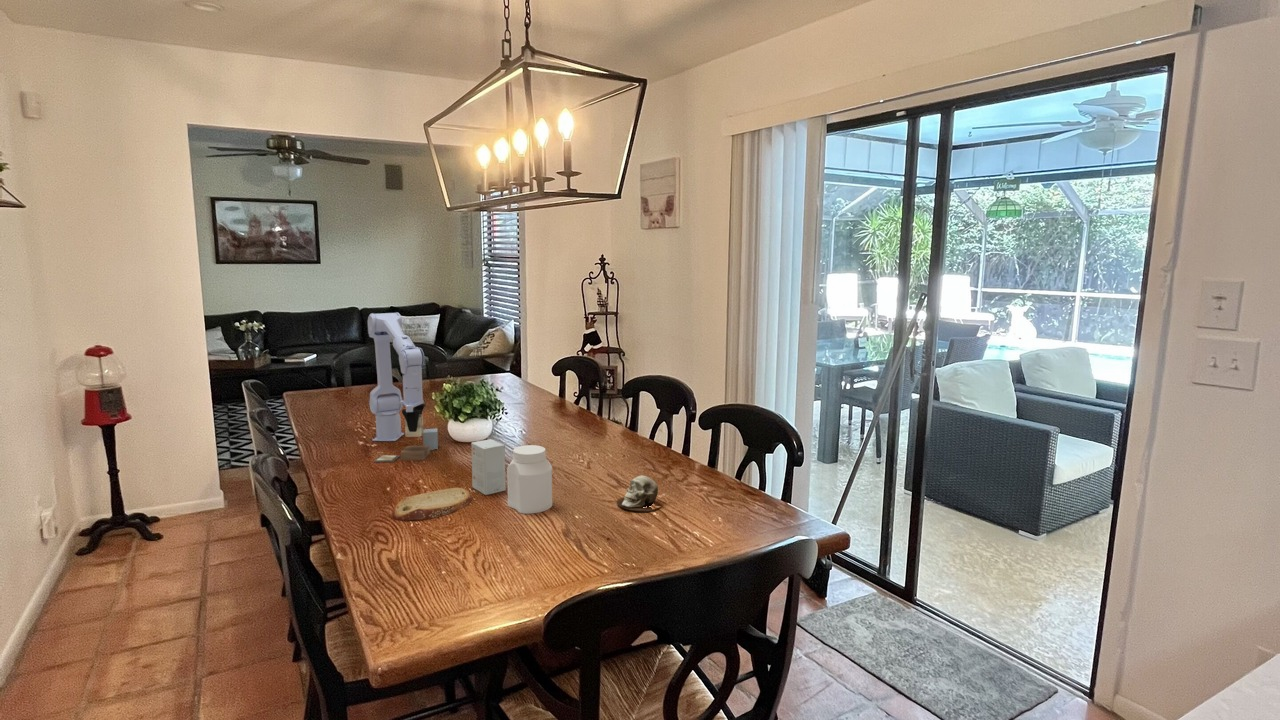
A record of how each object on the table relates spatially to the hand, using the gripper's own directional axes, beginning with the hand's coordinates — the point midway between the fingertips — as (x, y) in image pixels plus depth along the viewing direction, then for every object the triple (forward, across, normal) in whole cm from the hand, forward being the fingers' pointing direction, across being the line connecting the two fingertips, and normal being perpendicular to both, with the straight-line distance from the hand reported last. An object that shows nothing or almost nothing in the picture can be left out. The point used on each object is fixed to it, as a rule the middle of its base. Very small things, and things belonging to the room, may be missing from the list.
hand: (414, 429), depth 214 cm
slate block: (+9, -10, +3) cm, 14 cm away
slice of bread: (+10, +44, +12) cm, 47 cm away
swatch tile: (+9, +2, -8) cm, 12 cm away
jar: (+9, +46, +36) cm, 59 cm away
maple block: (+2, 0, 0) cm, 2 cm away
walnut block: (+9, 0, 0) cm, 9 cm away
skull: (+10, +48, +65) cm, 81 cm away
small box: (+9, +32, +25) cm, 42 cm away
